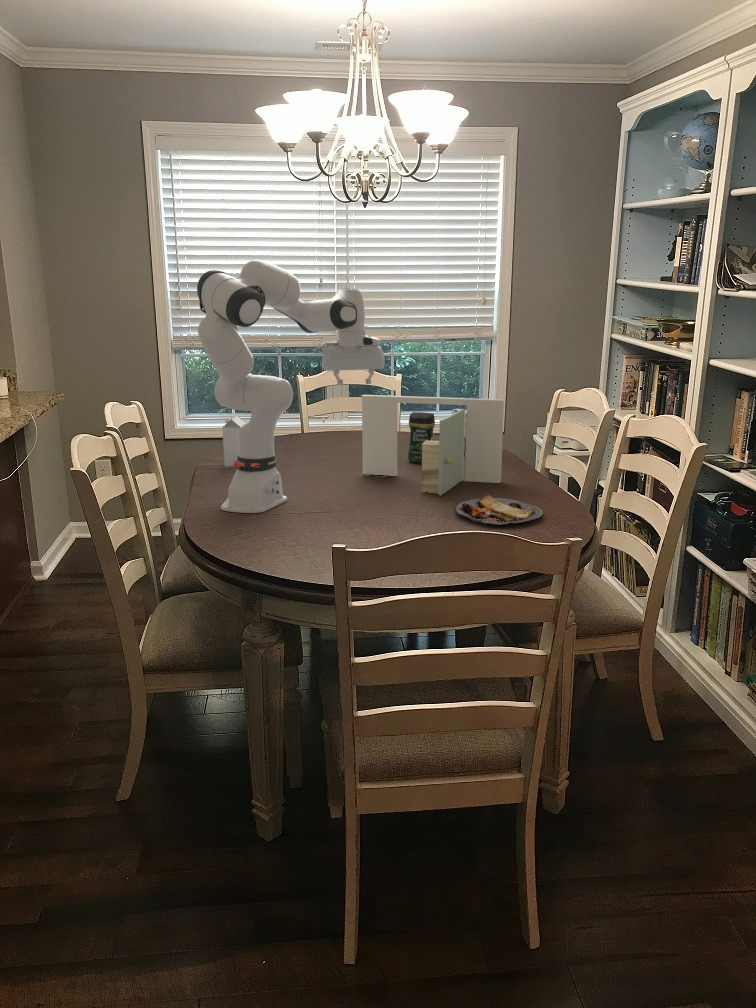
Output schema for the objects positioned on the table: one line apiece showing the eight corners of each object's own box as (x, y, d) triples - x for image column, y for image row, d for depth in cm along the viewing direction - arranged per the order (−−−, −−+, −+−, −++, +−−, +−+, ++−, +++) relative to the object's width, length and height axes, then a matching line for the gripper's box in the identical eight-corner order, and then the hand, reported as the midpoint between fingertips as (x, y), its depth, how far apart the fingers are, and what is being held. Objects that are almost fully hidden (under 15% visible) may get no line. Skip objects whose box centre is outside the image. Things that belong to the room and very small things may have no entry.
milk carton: (248, 463, 300) (245, 413, 295) (243, 468, 294) (240, 416, 288) (229, 463, 301) (226, 412, 296) (224, 467, 294) (221, 416, 289)
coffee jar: (405, 463, 300) (406, 413, 295) (411, 458, 308) (411, 410, 302) (431, 464, 298) (431, 414, 292) (436, 460, 305) (437, 411, 300)
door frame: (500, 483, 272) (503, 400, 264) (362, 475, 283) (361, 395, 275) (500, 481, 274) (504, 399, 266) (364, 473, 285) (363, 394, 277)
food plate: (439, 513, 239) (439, 501, 238) (492, 499, 253) (493, 488, 252) (503, 535, 221) (504, 523, 220) (556, 520, 235) (557, 508, 234)
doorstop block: (438, 493, 260) (439, 444, 256) (421, 492, 261) (422, 443, 257) (441, 488, 265) (442, 441, 261) (424, 487, 266) (425, 440, 262)
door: (468, 479, 274) (470, 409, 268) (447, 496, 255) (448, 421, 248) (460, 478, 275) (462, 409, 269) (438, 495, 256) (439, 420, 249)
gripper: (318, 342, 258) (320, 385, 261) (380, 339, 253) (382, 384, 256) (324, 342, 264) (326, 384, 267) (385, 339, 259) (386, 382, 262)
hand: (354, 384), depth 261 cm, fingers open, 8 cm apart
